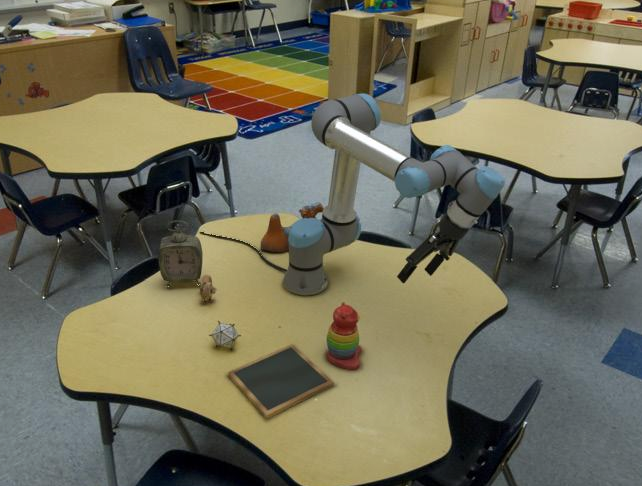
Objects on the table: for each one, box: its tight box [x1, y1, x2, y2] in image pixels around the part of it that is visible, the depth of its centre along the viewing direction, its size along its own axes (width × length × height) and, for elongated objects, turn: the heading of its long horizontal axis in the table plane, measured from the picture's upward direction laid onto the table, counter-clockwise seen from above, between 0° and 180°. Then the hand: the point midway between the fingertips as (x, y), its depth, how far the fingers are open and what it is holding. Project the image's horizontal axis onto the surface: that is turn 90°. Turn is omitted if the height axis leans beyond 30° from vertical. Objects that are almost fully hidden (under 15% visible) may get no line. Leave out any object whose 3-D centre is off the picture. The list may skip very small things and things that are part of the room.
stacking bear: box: [326, 301, 362, 371], centre depth 167 cm, size 11×10×18 cm
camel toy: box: [260, 201, 325, 253], centre depth 224 cm, size 25×13×17 cm, turn 89°
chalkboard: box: [227, 343, 334, 420], centre depth 163 cm, size 20×22×2 cm
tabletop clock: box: [157, 220, 204, 289], centre depth 201 cm, size 14×9×25 cm, turn 93°
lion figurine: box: [199, 274, 218, 305], centre depth 197 cm, size 15×5×9 cm, turn 13°
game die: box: [208, 320, 242, 351], centre depth 175 cm, size 9×8×10 cm
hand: (414, 276), depth 167 cm, fingers open, 13 cm apart
